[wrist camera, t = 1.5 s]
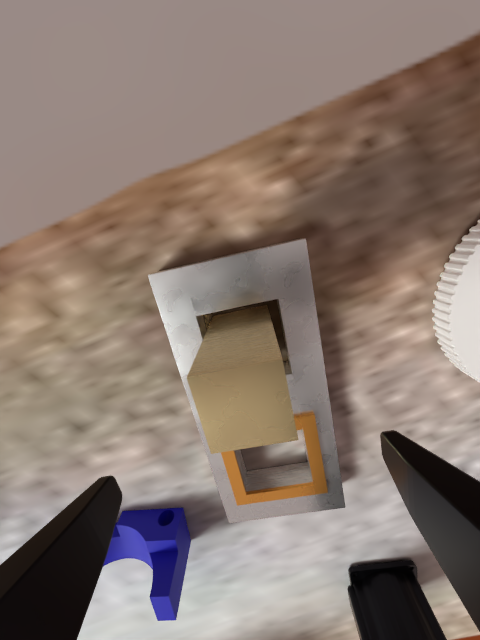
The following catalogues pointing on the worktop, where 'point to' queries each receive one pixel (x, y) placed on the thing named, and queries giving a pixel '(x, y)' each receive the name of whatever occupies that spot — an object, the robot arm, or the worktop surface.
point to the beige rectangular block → (241, 383)
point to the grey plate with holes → (301, 368)
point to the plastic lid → (460, 305)
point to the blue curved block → (155, 552)
